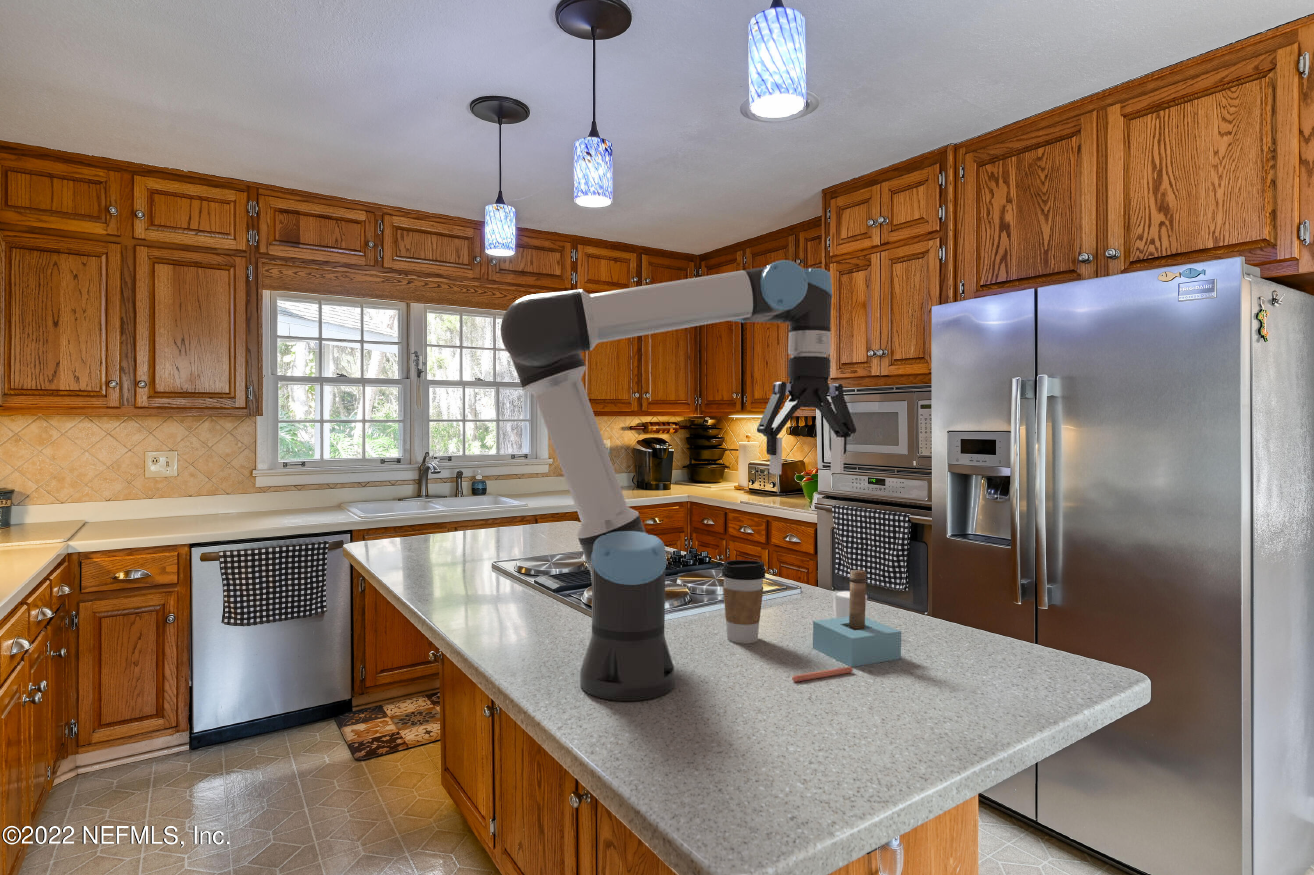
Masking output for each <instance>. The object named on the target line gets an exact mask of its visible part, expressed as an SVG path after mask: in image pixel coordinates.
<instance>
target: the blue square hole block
mask: <svg viewBox="0 0 1314 875" xmlns="http://www.w3.org/2000/svg"><path fill="white" fill-rule="evenodd" d="M812 648H813V649H814V650H817V651H818V652H820V653H822V654H825V655H826V656H829V657H831V658H832V659H834V660H836V661H838V662H841V663H842V664H844V665H846V666H847V667H852V668H853V667H860V666H865V665H872V664H878V663H885V662H889V661H895V660H896V661H897V660H901V656H902V630H899V629H897V628H894V627H892V626H889V625H886V624H884V623H881V622H879V621H877V620H874V619H871V618H869V617H866V616H865V629H863V630H852V629H850V628H849V617H841V618H834V617H833V618H827V619H819V620H812Z"/></svg>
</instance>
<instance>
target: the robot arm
mask: <svg viewBox="0 0 1314 875" xmlns="http://www.w3.org/2000/svg"><path fill="white" fill-rule="evenodd" d="M832 300H833V283H832V275H831V273H830V272H829V271H828V270H826V269H823V268H802V267H801V266H800V265H799V264H798V263H796V262H795V261H792V260H788V259H786V260H778V261H773V262H770V263H769V264H768V265H766V266H762V267H756V268H750V269H745V270H737V271H731V272H725V273H724V272H723V273H719V274H718V273H717V274H713V275H711V274H710V275H705V276H699V277H693V278H686V279H685V278H684V279H679V280H673V281H667V282H661V283H654V284H653V283H652V284H649V285H642V286H641V285H640V286H635V287H629V288H623V289H615V290H610V291H604V292H597V293H588V292H586V291H585V290H583V289H582V288H581V289H580V288H579V289H573V290H567V291H565V290H564V291H556V292H545V293H536V294H534V293H533V294H530V295H526V296H523V297H521V298H519V299H517V300H516V301H515V300H514V302H513V303H511V304H510V305H509V307H508V308H507V309H506V311H505V312H504V314H503V316H502V320H501V324H500V338H501V341H502V345H503V347H504V348H505V350H506V352H507V353H508V354H509V356H510V359H511V362H512V363H513V368H515V372H516V374H517V375H516V376H517V377H518V380H519V382H520V385H521V388H522V390H523V391H525V392H527V393H529V394H530V395H533V396H534V397H535V400H536V403H537V406H538V408H539V409H538V410H539V411H540V414H541V417H542V419H543V422H544V424H545V428H546V430H547V433H548V435H549V439H550V440H551V444H552V447H553V449H554V452H555V455H556V457H557V460H558V462H559V465H560V469H561V470H562V473H563V476H564V479H565V482H566V484H567V488H568V490H569V493H570V496H571V499H572V501H573V504H574V507H575V509H576V511H577V515H578V517H579V520H580V522H581V524H580V527H579V530H578V531H577V534H576V537H577V539H578V541H579V544H580V548H581V550H582V553H583V556H584V559H585V561H586V564H587V566H588V569H589V572H590V577H591V578H590V580H591V636H590V639H589V642H588V646H587V648H586V651H585V654H584V657H583V660H582V663H581V667H580V671H579V675H580V676H579V685H580V688H581V689H582V690H583V691H584V692H585V693H587V694H589V695H591V696H593V697H596V698H600V699H604V700H609V701H617V702H637V701H638V702H640V701H646V700H651V699H652V700H653V699H655V698H659V697H661V696H663V695H664V696H665V695H666V694H668V693H670V691H672V690H673V688H674V687H675V684H676V678H675V677H676V672H675V671H676V670H675V666H674V663H673V659H672V657H671V653H670V650H669V647H668V646H669V645H668V643H667V640H666V636H665V626H666V625H665V619H666V618H665V617H666V603H665V602H666V567H667V563H668V561H667V560H668V559H667V558H668V557H667V554H666V547H665V546H666V545H665V544H664V542H663V541H662V540H661V538H659V537H658V536H656V535H653V534H648V533H647V532H646V530H645V527H644V524H643V521H642V518H641V516H640V514H639V511H637V510H635V509H633V508H630V507H629V506H628V505H627V501H626V499H625V497H624V494H623V491H622V487H621V486H620V483H619V479H618V478H617V474H616V472H615V469H614V466H613V463H612V461H611V459H610V456H609V452H608V450H607V447H606V445H605V441H604V438H603V436H602V434H601V430H600V428H599V426H598V423H597V420H596V417H595V414H594V410H593V409H592V406H591V403H590V400H589V397H588V394H587V392H586V389H585V386H584V383H583V381H582V378H583V375H584V373H585V371H586V369H587V367H586V364H585V360H584V358H583V356H582V355H583V354H582V353H583V352H587V351H593V349H594V348H595V346H596V345H597V344H599V343H603V342H610V341H615V340H621V339H626V338H633V337H639V336H645V335H651V334H655V333H656V334H657V333H662V332H668V331H674V330H680V329H686V328H687V329H688V328H691V327H697V326H703V325H708V324H709V325H710V324H714V323H721V322H726V321H730V322H740V323H742V324H744V323H781V324H786V323H787V324H788V342H787V343H788V346H787V353H788V355H790V356H791V357H789V359H787V360H788V362H787V377H788V379H789V381H788V383H787V382H786V381H776V382H774V383H773V384H772V393H771V396H770V398H769V400H768V403H767V405H766V408H765V410H764V412H763V414H762V416H761V419H760V421H759V423H758V426H757V428H756V432H757V433H758V434H761V435H763V436H764V437H765V438H766V450H765V451H766V455H767V456H769V468H768V469H769V472H768V473H769V474H773V475H782V466H783V465H782V462H783V460H782V459H783V458H782V457H783V437H778V436H779V435H780V433H781V432H782V431H783V429H785V427H786V425H788V422H789V421H790V420H791V419H792V417H793V416H794V414H795V413H796V412H797V411H798V410H799V409H800V408H813V409H814V408H815V409H816V410H817V411H818V412H820V415H822V417H823V419H824V420H825V422H826V423H827V424H828V426H829V428H830V429H831V431H832V432H833V433H834V435H835V436H831V438H830V439H831V441H830V442H831V444H830V446H831V447H830V451H831V452H830V472H831V473H839V474H840V473H844V455H846V453H847V443H848V442H847V440H848V439H847V438H850V437H851V436H852V434H853V435H855V434H856V432H857V427H856V425H855V423H854V420H853V417H852V415H851V411H850V410H849V406H848V405H847V404H848V403H847V401H846V399H845V395H844V386H843V383H831V384H829V378H830V376H831V358H830V357H828V355H830V354H831V348H832V347H831V343H832V342H831V341H832V339H831V338H832V337H831V336H832V332H831V331H832V329H831V328H832V327H831V326H832V325H831V324H832V305H833V304H832V303H833V301H832ZM787 393H788V394H789V398H788V399H787V400H786V402H785V403H784V406H783V407H782V405H783V402H784V400H785V397H786V395H787ZM828 395H829V396H830V400H829V398H828ZM832 406H833V407H832ZM781 407H782V408H781ZM780 409H781V410H780Z"/></svg>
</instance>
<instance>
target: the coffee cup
mask: <svg viewBox="0 0 1314 875" xmlns="http://www.w3.org/2000/svg"><path fill="white" fill-rule="evenodd" d="M764 563H765V562H764V561H761V560H749V559H748V560H747V559H732V560H725V561H724V562H723V566H722V569H721V576H723V586H722V588H723V602H724V614H725V625H726V626H725V628H726V629H725V630H726V638H727V640H728V641H730V642H732V643H737V644H753V643H756V642H757V641H758V639H759V629H760V621H761V612H762V603H763V593H764V586H763V584H764V578H766V571H765V564H764Z"/></svg>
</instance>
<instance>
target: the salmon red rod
mask: <svg viewBox="0 0 1314 875" xmlns="http://www.w3.org/2000/svg"><path fill="white" fill-rule="evenodd" d="M853 670H854V669H853V667H850V666H844V667H839V668H838V667H837V668H832V669H831V668H830V669H826V670H820V671H814V672H813V671H812V672H807V673H801V674H795V675H792V678H791V680H792V681H793V682H795V683H797V682H802V681H808V680H816V679H820V678H821V679H822V678H826V677H832V676H838V675H845V674H851V673H852V672H853Z"/></svg>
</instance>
